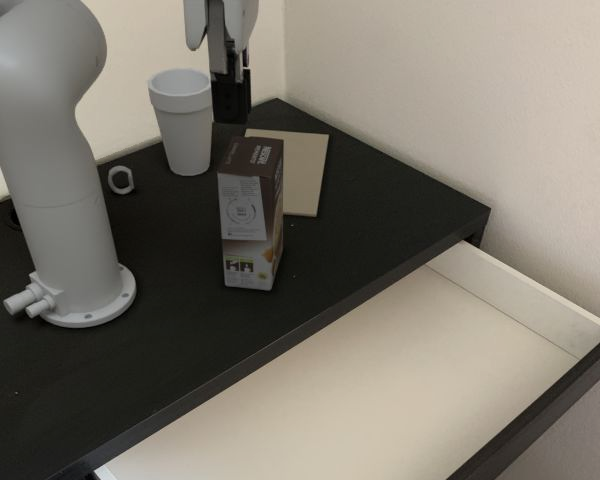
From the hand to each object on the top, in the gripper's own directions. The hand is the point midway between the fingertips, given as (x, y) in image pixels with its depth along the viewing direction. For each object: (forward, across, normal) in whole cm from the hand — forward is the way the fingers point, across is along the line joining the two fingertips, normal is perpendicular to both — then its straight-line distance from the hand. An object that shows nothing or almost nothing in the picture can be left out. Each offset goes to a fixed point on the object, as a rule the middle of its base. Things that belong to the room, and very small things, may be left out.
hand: (232, 115), depth 63 cm
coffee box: (+25, -10, 0) cm, 27 cm away
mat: (+25, -34, 0) cm, 43 cm away
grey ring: (+25, -25, -22) cm, 42 cm away
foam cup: (+25, -34, -14) cm, 45 cm away
